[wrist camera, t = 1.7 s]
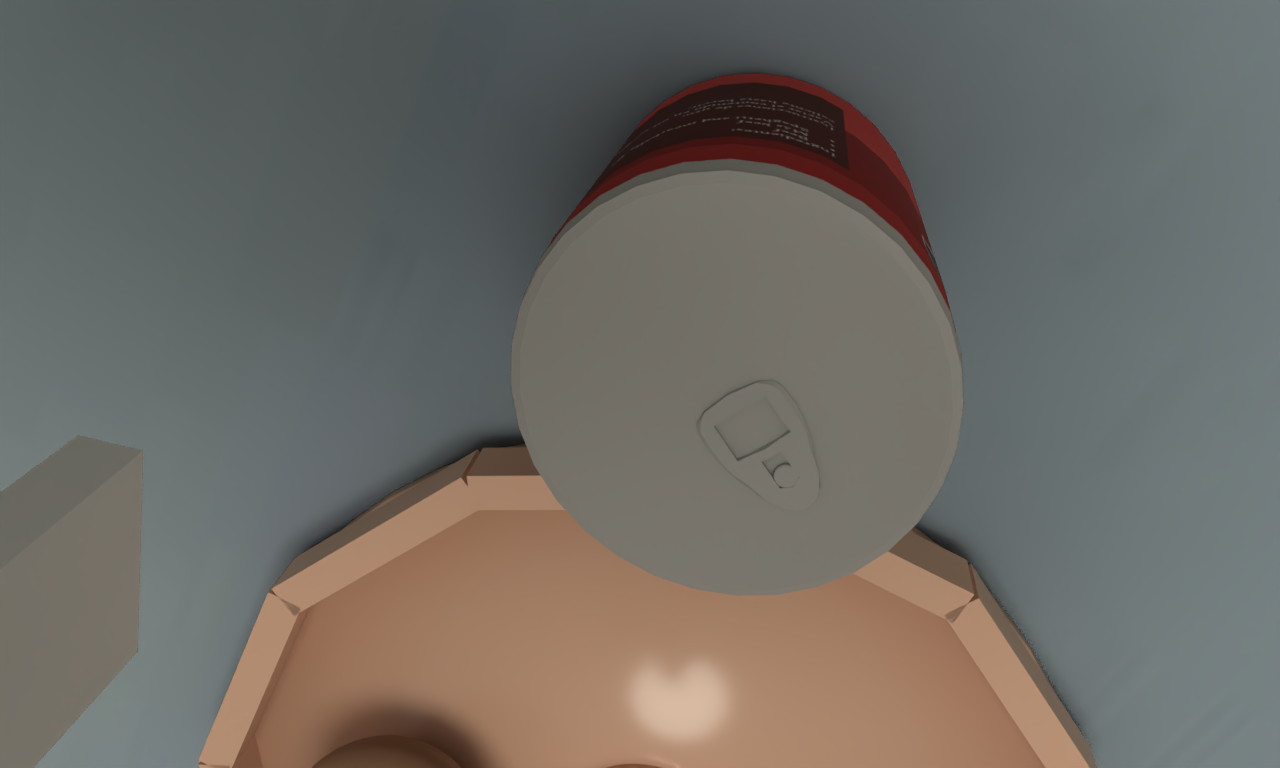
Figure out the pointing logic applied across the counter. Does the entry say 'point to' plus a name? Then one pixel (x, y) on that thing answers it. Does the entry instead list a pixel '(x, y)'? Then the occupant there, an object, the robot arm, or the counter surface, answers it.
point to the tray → (622, 651)
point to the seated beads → (387, 754)
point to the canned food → (742, 345)
